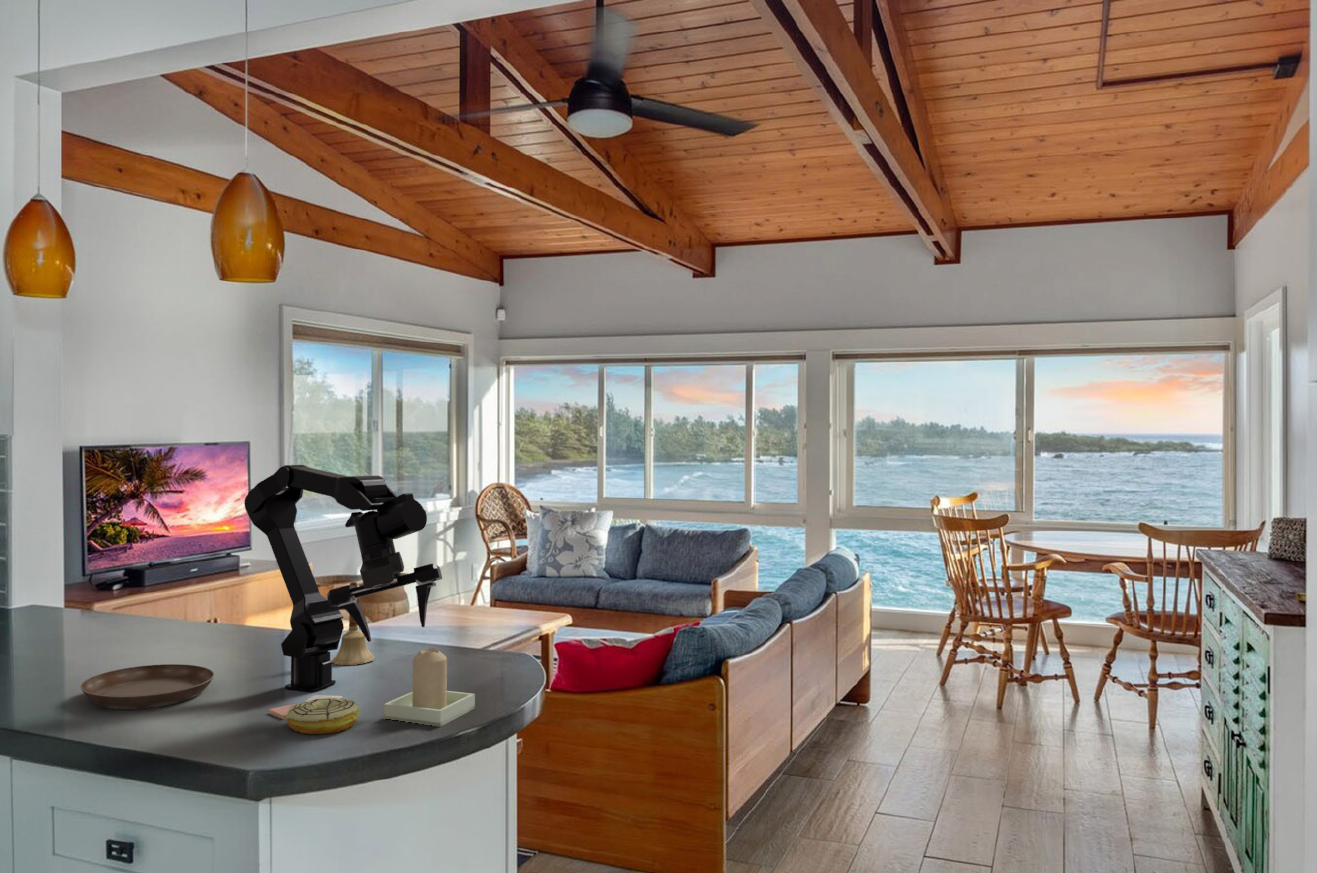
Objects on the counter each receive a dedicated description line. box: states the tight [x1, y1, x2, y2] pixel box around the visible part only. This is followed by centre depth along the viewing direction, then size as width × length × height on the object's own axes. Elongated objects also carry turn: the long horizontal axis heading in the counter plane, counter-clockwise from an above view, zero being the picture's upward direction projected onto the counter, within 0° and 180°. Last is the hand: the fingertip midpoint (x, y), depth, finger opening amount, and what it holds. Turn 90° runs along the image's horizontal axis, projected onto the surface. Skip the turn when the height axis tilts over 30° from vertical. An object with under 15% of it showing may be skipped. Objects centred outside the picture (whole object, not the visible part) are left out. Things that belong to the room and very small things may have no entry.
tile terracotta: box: [268, 702, 299, 721], centre depth 157 cm, size 5×5×1 cm
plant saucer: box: [80, 663, 215, 710], centre depth 167 cm, size 21×21×3 cm
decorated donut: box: [285, 698, 360, 735], centre depth 151 cm, size 10×11×4 cm
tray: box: [383, 690, 476, 728], centre depth 158 cm, size 11×11×2 cm
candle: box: [412, 647, 448, 710], centre depth 158 cm, size 6×6×10 cm
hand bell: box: [331, 581, 375, 666], centre depth 193 cm, size 8×8×16 cm
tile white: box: [303, 694, 343, 702], centre depth 163 cm, size 5×5×1 cm
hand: (396, 634), depth 163 cm, fingers open, 9 cm apart
